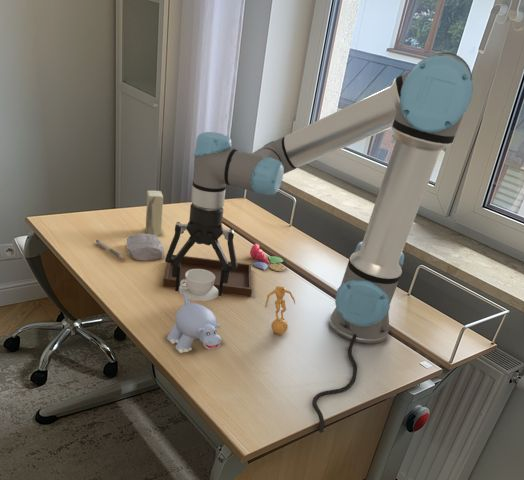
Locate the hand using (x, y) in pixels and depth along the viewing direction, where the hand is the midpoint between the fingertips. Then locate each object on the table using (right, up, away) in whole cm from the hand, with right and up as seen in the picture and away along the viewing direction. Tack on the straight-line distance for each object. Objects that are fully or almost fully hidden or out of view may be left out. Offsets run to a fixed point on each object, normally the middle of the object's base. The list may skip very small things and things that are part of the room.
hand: (198, 291), depth 137 cm
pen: (-28, +13, +21) cm, 37 cm away
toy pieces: (+17, +12, +31) cm, 37 cm away
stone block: (-19, +14, +24) cm, 34 cm away
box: (-19, +22, +37) cm, 47 cm away
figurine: (+19, -10, -1) cm, 22 cm away
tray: (+1, +5, +16) cm, 17 cm away
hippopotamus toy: (+1, -14, -11) cm, 18 cm away
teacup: (0, 0, 0) cm, 1 cm away
